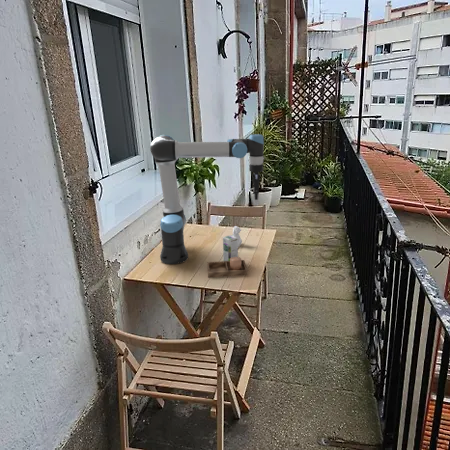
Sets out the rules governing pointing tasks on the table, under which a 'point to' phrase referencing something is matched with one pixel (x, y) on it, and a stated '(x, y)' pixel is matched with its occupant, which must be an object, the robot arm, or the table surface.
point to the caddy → (225, 269)
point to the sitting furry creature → (235, 234)
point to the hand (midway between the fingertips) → (256, 201)
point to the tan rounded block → (235, 263)
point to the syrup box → (230, 247)
